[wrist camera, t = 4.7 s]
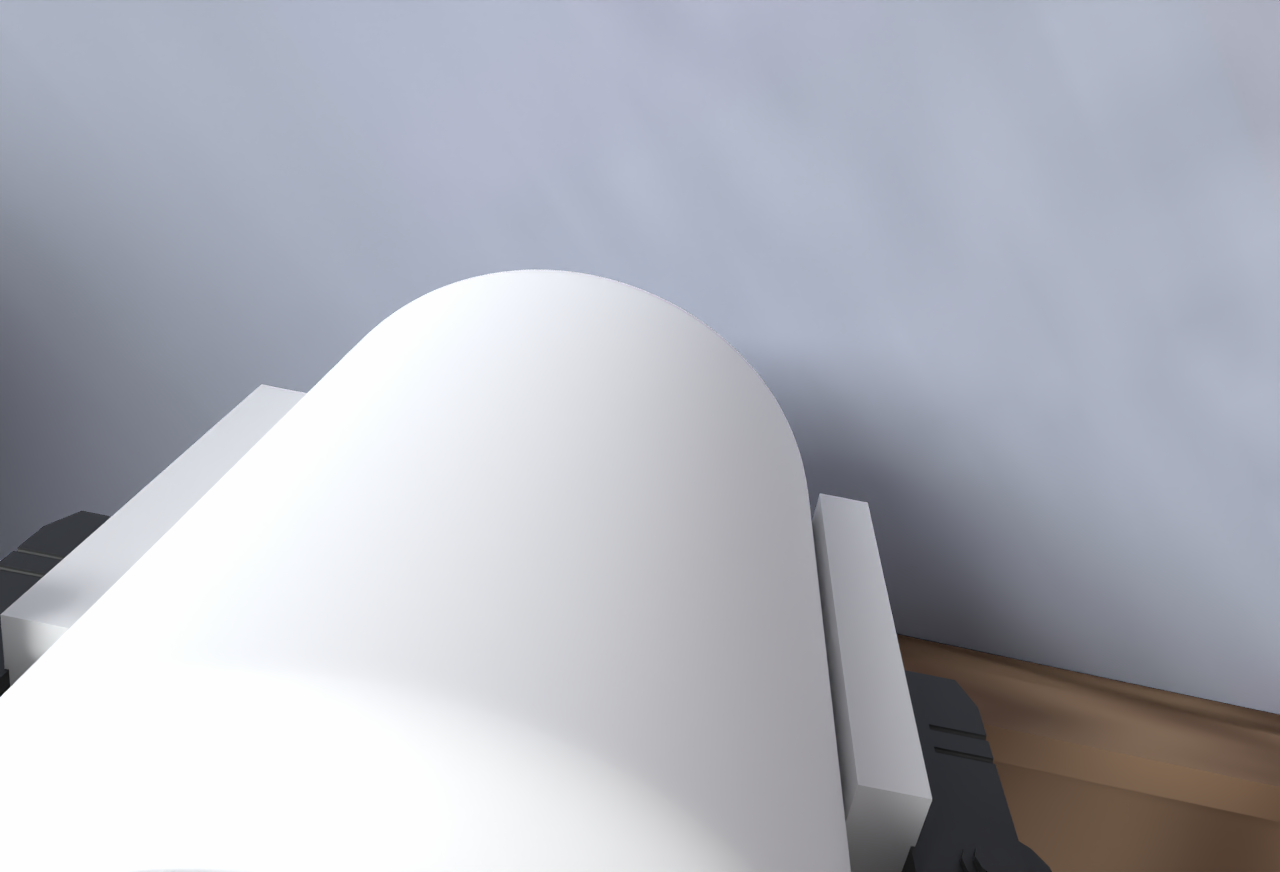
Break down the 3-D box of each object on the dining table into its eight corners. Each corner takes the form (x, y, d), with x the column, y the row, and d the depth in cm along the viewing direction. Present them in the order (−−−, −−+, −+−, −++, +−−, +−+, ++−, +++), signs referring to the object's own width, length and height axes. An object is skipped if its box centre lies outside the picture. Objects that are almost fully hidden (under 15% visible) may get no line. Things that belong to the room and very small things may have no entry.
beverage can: (708, 180, 16) (622, 670, 5) (868, 632, 19) (1038, 1585, 8) (234, 354, 18) (-603, 1000, 7) (444, 743, 20) (94, 1648, 10)
